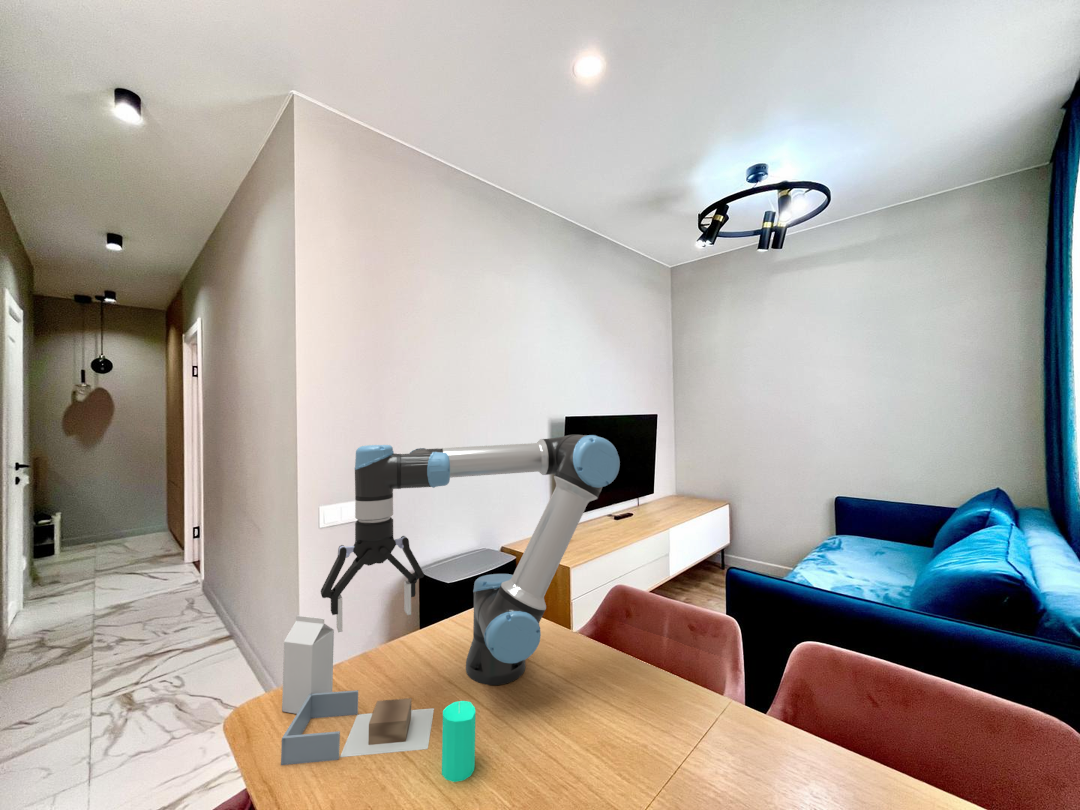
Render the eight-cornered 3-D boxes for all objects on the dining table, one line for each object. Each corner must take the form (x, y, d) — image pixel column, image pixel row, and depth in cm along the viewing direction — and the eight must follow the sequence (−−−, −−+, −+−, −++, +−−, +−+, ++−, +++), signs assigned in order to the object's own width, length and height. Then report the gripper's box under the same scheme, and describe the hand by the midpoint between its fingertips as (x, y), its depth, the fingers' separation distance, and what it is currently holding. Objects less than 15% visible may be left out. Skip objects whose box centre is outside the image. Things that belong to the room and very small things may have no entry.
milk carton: (310, 716, 93) (312, 626, 94) (281, 712, 94) (284, 622, 95) (332, 696, 100) (334, 611, 101) (305, 692, 101) (307, 609, 102)
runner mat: (434, 709, 95) (434, 708, 95) (427, 750, 84) (427, 748, 84) (357, 715, 93) (357, 714, 93) (339, 758, 81) (339, 757, 81)
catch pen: (357, 714, 94) (358, 690, 94) (338, 761, 81) (338, 733, 81) (308, 718, 92) (309, 693, 93) (280, 766, 79) (281, 738, 80)
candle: (446, 788, 75) (447, 716, 75) (437, 764, 80) (438, 697, 81) (479, 776, 78) (480, 706, 78) (468, 753, 83) (469, 688, 84)
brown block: (411, 717, 92) (411, 698, 93) (405, 741, 85) (406, 720, 86) (376, 720, 91) (377, 700, 92) (368, 745, 84) (368, 723, 85)
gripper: (427, 508, 102) (428, 600, 101) (306, 523, 89) (306, 629, 88) (437, 514, 95) (438, 612, 95) (309, 531, 82) (309, 645, 82)
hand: (374, 620), depth 91 cm, fingers open, 13 cm apart
